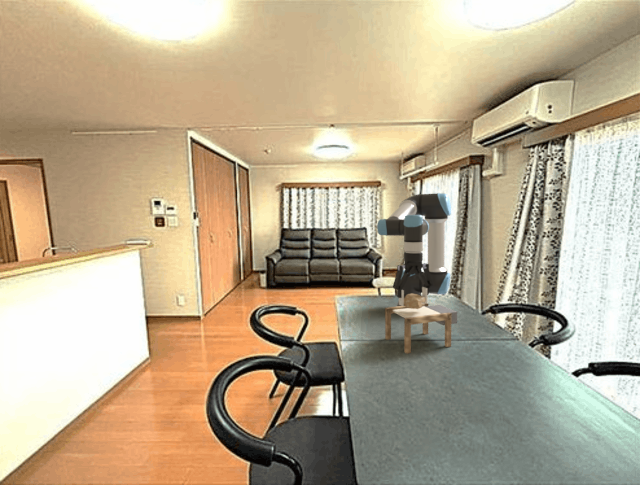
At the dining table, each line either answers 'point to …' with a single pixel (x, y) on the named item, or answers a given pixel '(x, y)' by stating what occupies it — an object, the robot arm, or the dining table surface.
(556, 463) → the dining table surface
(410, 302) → the stone
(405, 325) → the frame
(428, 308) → the trapdoor
